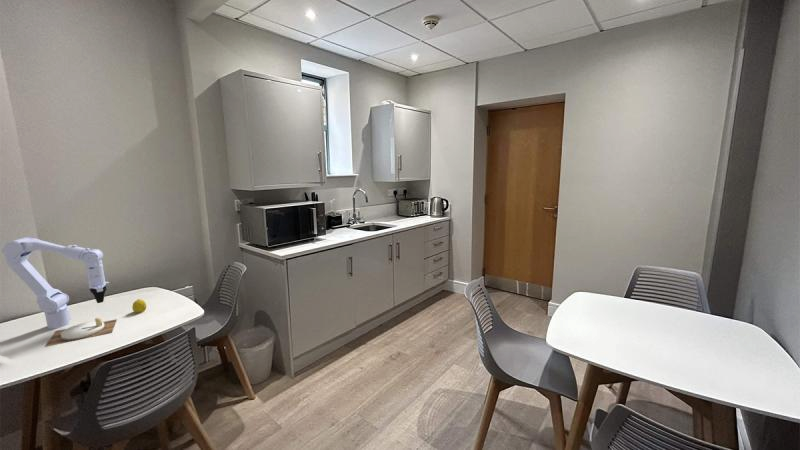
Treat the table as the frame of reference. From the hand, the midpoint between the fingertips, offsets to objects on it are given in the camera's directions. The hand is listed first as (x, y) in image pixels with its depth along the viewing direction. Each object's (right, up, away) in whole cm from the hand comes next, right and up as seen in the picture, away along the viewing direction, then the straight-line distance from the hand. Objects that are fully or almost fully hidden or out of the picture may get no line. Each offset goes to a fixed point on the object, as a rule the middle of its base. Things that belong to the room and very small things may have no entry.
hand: (100, 302), depth 156 cm
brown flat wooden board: (+2, -12, -10) cm, 16 cm away
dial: (+2, -11, -10) cm, 15 cm away
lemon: (+10, -9, +11) cm, 18 cm away
